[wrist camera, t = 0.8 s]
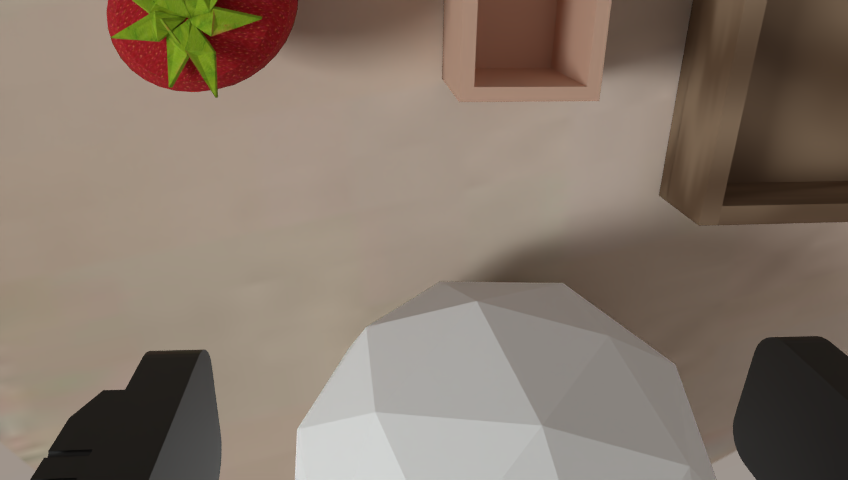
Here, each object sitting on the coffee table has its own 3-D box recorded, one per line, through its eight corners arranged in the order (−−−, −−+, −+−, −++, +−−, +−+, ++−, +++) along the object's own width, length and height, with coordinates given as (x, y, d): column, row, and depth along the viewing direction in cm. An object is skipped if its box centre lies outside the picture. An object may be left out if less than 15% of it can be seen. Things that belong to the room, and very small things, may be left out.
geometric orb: (514, 269, 44) (837, 374, 29) (424, 537, 43) (706, 773, 29) (294, 193, 30) (695, 320, 16) (164, 581, 30) (451, 1055, 16)
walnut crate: (716, -133, 28) (776, -151, 24) (974, -126, 29) (1073, -141, 25) (659, 195, 35) (698, 225, 31) (873, 191, 36) (939, 219, 32)
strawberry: (334, 21, 30) (321, 44, 20) (202, 97, 30) (133, 152, 21) (264, -104, 27) (215, -141, 18) (123, -17, 28) (8, -11, 19)
